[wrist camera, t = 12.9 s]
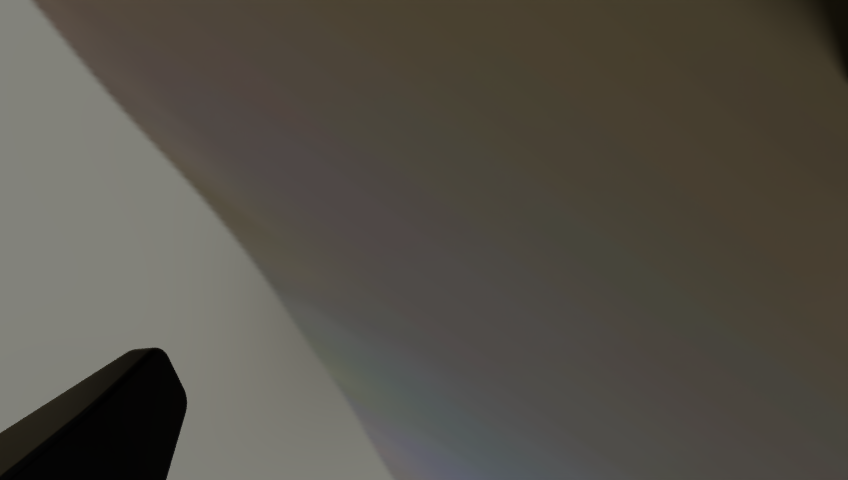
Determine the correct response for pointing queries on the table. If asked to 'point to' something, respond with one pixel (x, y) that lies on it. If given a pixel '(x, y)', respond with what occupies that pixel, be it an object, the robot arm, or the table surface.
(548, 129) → the table surface
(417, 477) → the table surface
